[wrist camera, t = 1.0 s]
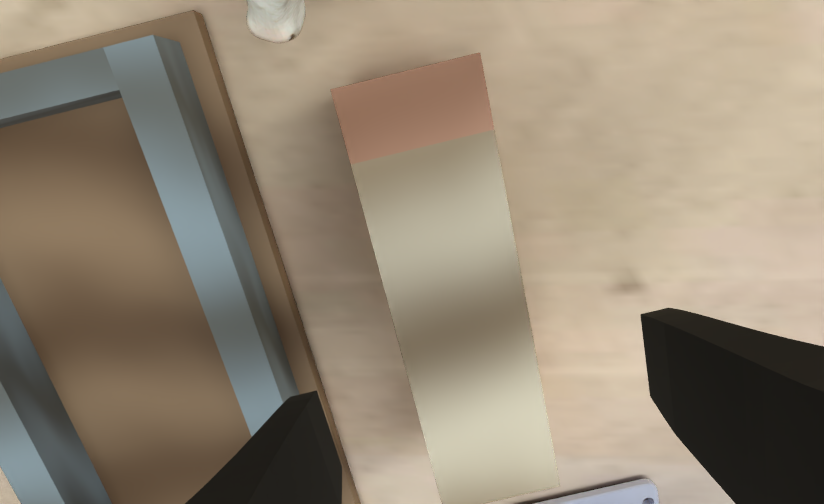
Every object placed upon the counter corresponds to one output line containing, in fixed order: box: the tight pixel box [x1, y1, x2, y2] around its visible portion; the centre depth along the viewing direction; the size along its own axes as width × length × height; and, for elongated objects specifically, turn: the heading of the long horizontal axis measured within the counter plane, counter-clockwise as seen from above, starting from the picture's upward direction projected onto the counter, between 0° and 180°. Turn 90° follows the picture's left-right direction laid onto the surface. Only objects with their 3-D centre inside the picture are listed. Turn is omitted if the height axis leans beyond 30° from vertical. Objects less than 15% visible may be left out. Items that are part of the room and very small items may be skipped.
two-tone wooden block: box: [331, 53, 560, 504], centre depth 18 cm, size 14×4×5 cm, turn 13°
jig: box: [0, 10, 361, 504], centre depth 19 cm, size 21×12×3 cm, turn 13°
